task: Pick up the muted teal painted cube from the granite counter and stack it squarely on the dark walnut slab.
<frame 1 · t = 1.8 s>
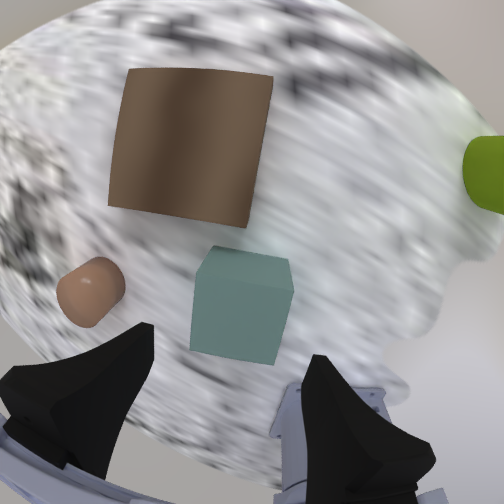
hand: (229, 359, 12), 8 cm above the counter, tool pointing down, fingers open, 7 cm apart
tan round knob: (104, 280, 20), on the counter
base: (190, 142, 17), on the counter
cube: (244, 285, 20), on the counter
soap dispenser: (484, 166, 16), on the counter
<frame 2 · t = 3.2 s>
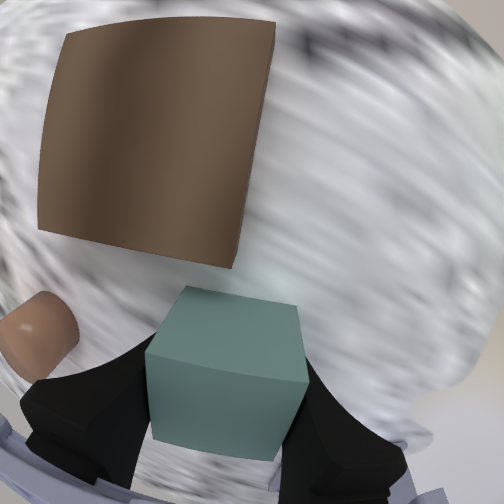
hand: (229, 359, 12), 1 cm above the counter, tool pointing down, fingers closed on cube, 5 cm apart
tan round knob: (55, 320, 14), on the counter
base: (149, 130, 11), on the counter
cube: (233, 341, 13), on the counter, touching gripper
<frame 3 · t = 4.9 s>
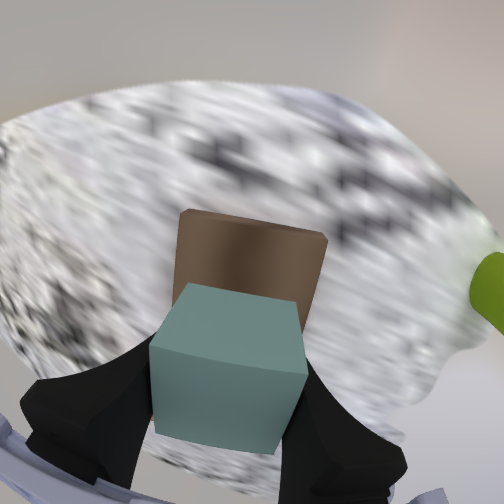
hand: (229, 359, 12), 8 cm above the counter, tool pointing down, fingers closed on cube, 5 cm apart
base: (244, 282, 20), on the counter
cube: (233, 337, 14), point 7 cm above the counter, touching gripper
soap dispenser: (489, 276, 19), on the counter
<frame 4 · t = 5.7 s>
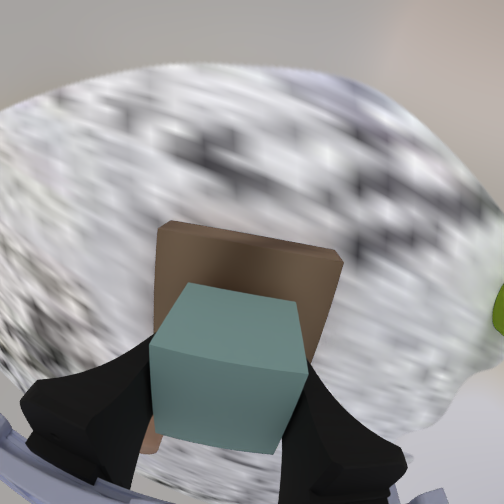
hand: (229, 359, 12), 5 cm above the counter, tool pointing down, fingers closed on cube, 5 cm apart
tan round knob: (148, 404, 20), on the counter
base: (239, 309, 16), on the counter
cube: (233, 337, 14), point 3 cm above the counter, touching gripper
when the fingers open (5 cm above the counter, at t = 6.5 s): cube stays where it is, resting on base.
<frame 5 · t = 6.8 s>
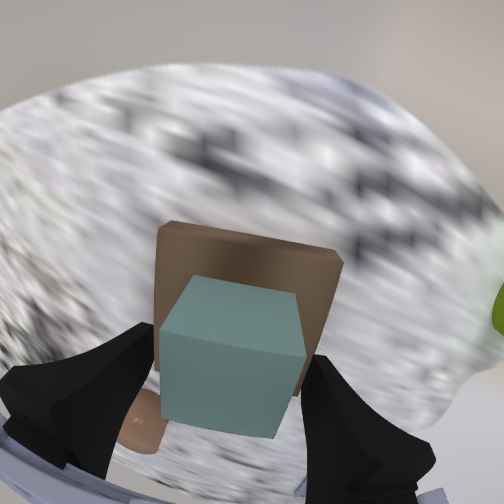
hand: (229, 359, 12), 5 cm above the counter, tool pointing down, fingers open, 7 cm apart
tan round knob: (148, 404, 20), on the counter
base: (239, 309, 16), on the counter
cube: (236, 327, 14), point 2 cm above the counter, touching base
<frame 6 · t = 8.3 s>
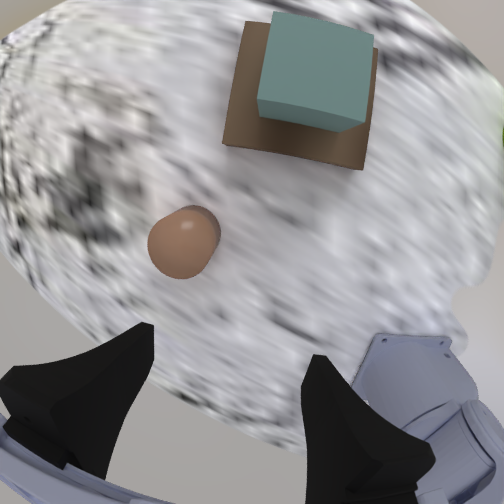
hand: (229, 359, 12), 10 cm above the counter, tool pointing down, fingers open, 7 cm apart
tan round knob: (193, 232, 21), on the counter
base: (301, 95, 17), on the counter
cube: (305, 87, 15), point 2 cm above the counter, touching base
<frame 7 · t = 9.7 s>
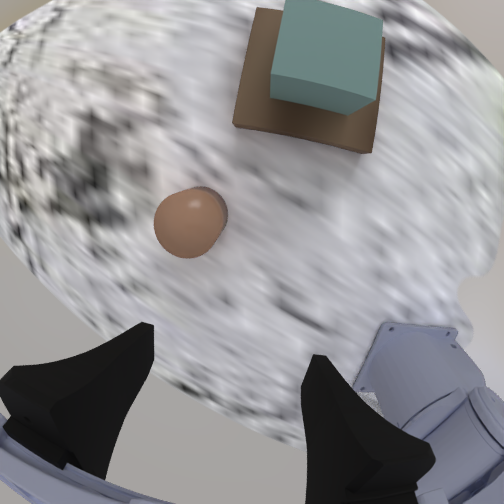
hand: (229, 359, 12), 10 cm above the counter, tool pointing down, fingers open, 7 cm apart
tan round knob: (200, 214, 20), on the counter
base: (310, 79, 17), on the counter
cube: (315, 71, 15), point 2 cm above the counter, touching base
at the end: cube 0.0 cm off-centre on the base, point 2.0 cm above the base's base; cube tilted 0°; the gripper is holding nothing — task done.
